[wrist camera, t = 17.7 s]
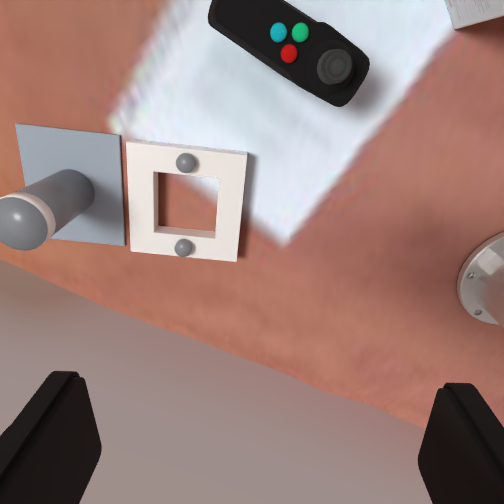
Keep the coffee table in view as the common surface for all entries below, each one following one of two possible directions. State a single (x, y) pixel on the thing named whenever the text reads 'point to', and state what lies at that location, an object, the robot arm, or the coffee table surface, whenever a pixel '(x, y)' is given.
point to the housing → (187, 163)
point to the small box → (474, 11)
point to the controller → (293, 46)
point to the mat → (88, 163)
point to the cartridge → (43, 208)
